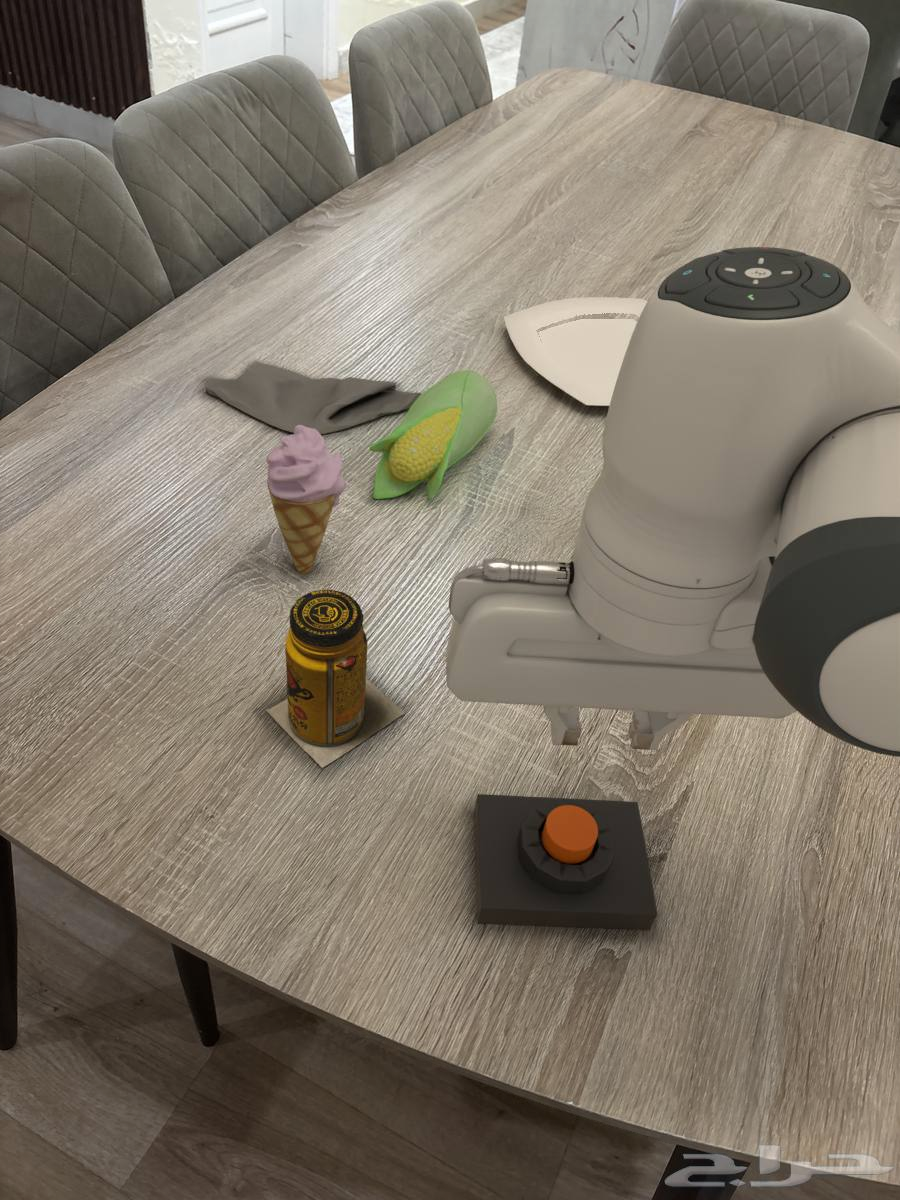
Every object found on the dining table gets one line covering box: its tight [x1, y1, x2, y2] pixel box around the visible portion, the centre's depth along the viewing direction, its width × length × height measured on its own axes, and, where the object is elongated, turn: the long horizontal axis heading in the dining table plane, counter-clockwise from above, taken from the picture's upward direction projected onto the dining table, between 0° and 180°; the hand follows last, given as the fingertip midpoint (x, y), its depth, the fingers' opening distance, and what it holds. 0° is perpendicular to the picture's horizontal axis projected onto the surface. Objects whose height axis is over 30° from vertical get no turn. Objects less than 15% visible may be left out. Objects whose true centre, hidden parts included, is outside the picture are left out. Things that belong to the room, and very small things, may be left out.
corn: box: [369, 369, 498, 500], centre depth 100 cm, size 8×8×20 cm
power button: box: [542, 805, 598, 864], centre depth 64 cm, size 4×4×2 cm
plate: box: [503, 296, 648, 408], centre depth 121 cm, size 27×27×2 cm
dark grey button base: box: [473, 793, 658, 931], centre depth 66 cm, size 12×9×4 cm
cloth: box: [204, 361, 422, 435], centre depth 107 cm, size 26×14×2 cm, turn 81°
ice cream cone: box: [266, 425, 347, 575], centre depth 83 cm, size 7×6×15 cm
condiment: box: [265, 589, 406, 769], centre depth 72 cm, size 7×8×12 cm
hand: (602, 739), depth 57 cm, fingers open, 3 cm apart
